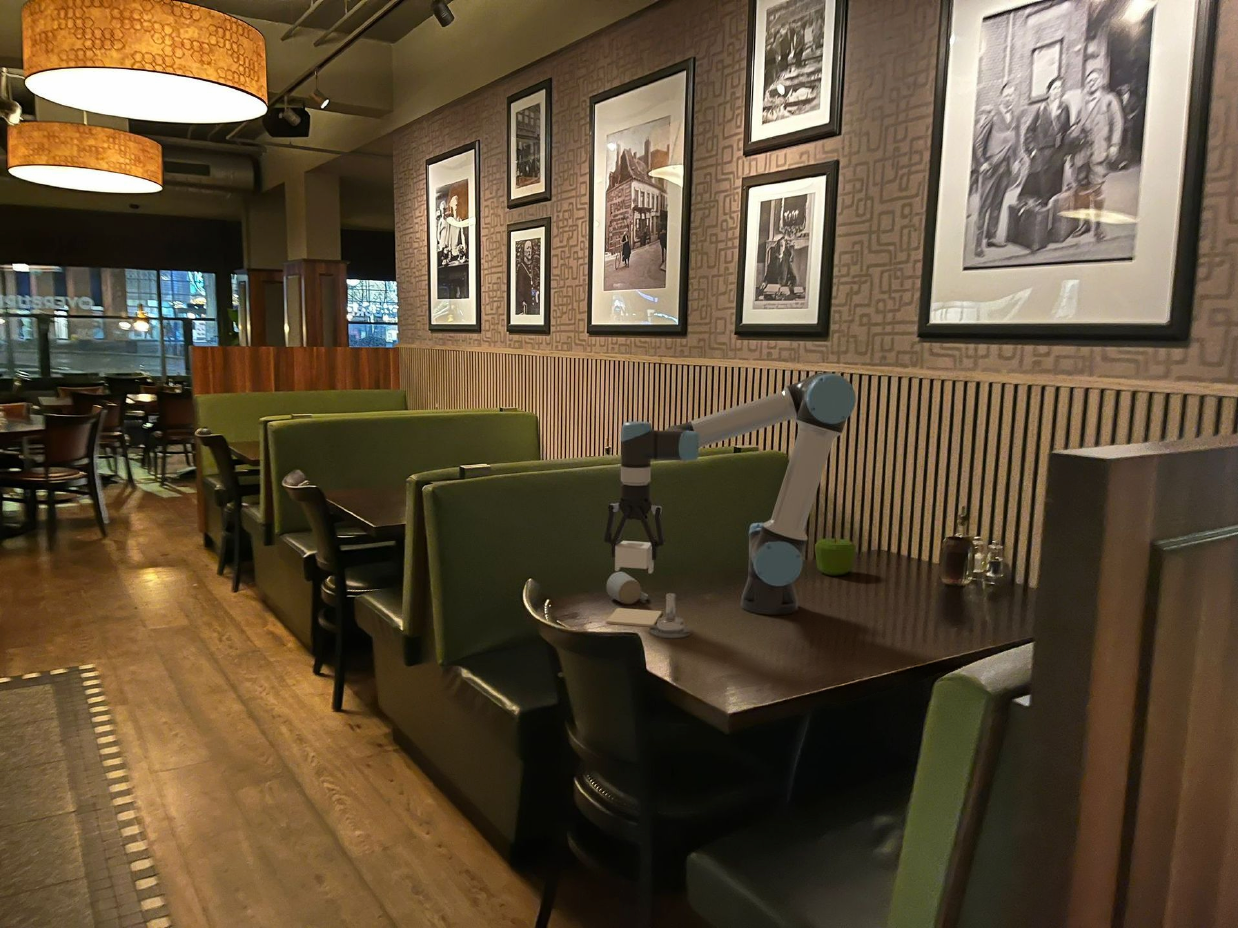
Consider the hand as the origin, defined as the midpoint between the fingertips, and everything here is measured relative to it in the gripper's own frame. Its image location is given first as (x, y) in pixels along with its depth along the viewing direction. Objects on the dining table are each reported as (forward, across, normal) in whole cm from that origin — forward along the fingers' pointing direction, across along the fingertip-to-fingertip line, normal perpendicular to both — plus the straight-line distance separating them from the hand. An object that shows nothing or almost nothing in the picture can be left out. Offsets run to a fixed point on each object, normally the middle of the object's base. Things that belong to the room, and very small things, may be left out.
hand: (634, 570), depth 228 cm
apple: (+12, -50, -62) cm, 81 cm away
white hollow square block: (-2, 0, 0) cm, 2 cm away
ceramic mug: (+13, +5, -16) cm, 21 cm away
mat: (+13, 0, 0) cm, 13 cm away
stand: (+12, -11, +9) cm, 19 cm away
